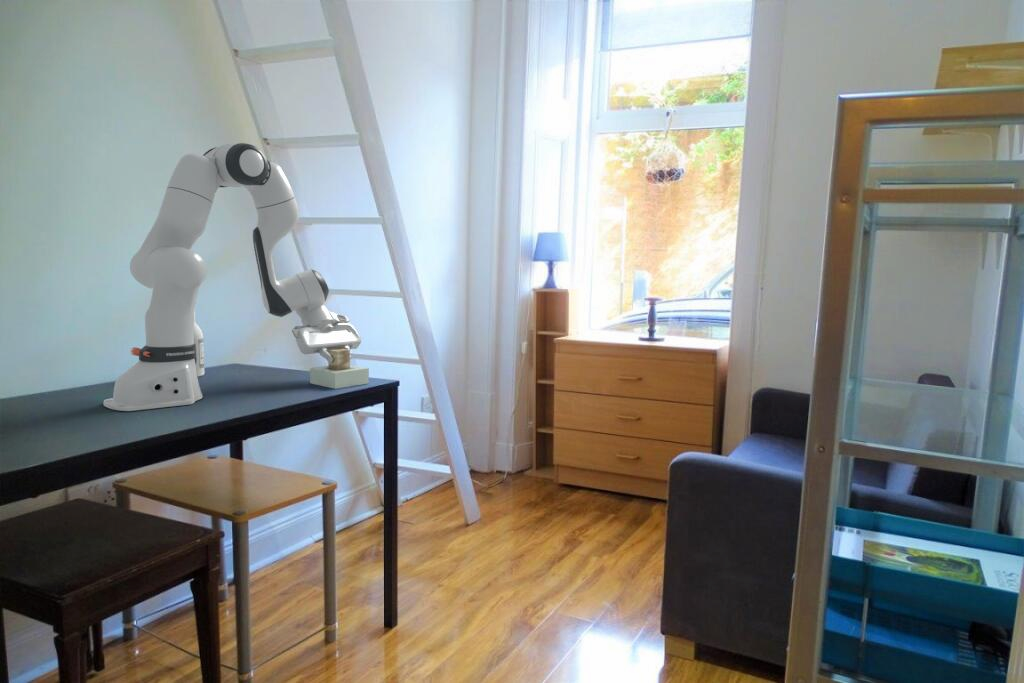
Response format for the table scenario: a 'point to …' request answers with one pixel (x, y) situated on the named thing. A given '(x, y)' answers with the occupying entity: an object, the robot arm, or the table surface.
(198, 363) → the bath foam
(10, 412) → the table surface
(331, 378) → the socket block
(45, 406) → the table surface
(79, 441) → the table surface
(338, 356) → the birch peg
